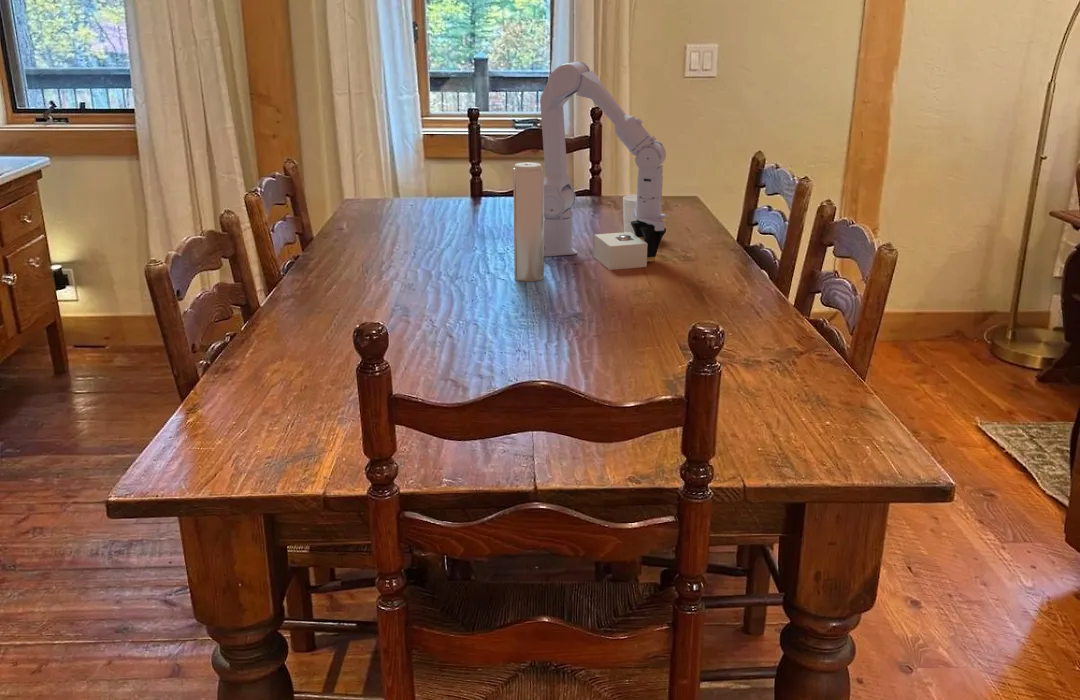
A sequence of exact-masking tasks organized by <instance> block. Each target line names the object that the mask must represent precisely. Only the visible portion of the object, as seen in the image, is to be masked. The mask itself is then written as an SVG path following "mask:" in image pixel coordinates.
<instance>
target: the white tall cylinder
mask: <svg viewBox="0 0 1080 700" xmlns="http://www.w3.org/2000/svg"><path fill="white" fill-rule="evenodd" d="M512 171H513V172H512V173H513V174H512V175H513V177H512V178H513V181H512V182H513V183H512V184H513V185H512V186H513V187H512V188H513V246H514V247H513V251H514V252H513V256H514V257H513V258H514V259H513V260H514V262H513V263H514V279H515V280H516V281H519V282H525V283H531V282H534V281H535V282H540V281H541V280H543V279H544V278H545V257H544V179H545V168H542V164H541V163H539V162H527V161H526V162H517V163H515V164H514V168H513V169H512Z"/></svg>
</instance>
